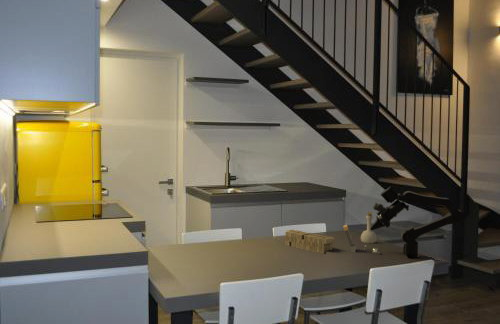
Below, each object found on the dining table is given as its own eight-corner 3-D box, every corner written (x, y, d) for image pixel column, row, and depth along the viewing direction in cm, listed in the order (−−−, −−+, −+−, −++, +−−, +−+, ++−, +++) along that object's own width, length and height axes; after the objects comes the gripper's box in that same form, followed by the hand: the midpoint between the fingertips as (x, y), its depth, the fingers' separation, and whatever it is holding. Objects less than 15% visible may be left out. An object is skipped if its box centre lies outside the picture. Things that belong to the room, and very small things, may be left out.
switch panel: (382, 252, 273) (382, 244, 273) (384, 257, 260) (384, 250, 260) (343, 249, 277) (344, 242, 276) (344, 255, 264) (344, 247, 264)
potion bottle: (375, 242, 297) (376, 211, 296) (377, 245, 288) (378, 213, 287) (359, 241, 298) (360, 210, 297) (361, 245, 289) (362, 213, 288)
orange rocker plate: (355, 248, 271) (346, 224, 272) (355, 250, 267) (347, 226, 267) (351, 249, 272) (343, 225, 272) (351, 251, 267) (343, 227, 267)
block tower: (283, 246, 286) (325, 254, 265) (283, 231, 285) (325, 238, 264) (292, 244, 291) (334, 252, 270) (292, 229, 291) (335, 236, 270)
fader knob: (366, 249, 274) (366, 245, 274) (366, 250, 272) (366, 246, 271) (364, 249, 274) (364, 245, 274) (364, 249, 272) (364, 245, 272)
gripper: (381, 195, 274) (359, 215, 277) (384, 200, 256) (360, 220, 259) (396, 211, 274) (373, 230, 276) (400, 217, 255) (375, 237, 258)
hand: (370, 229), depth 267 cm, fingers closed
